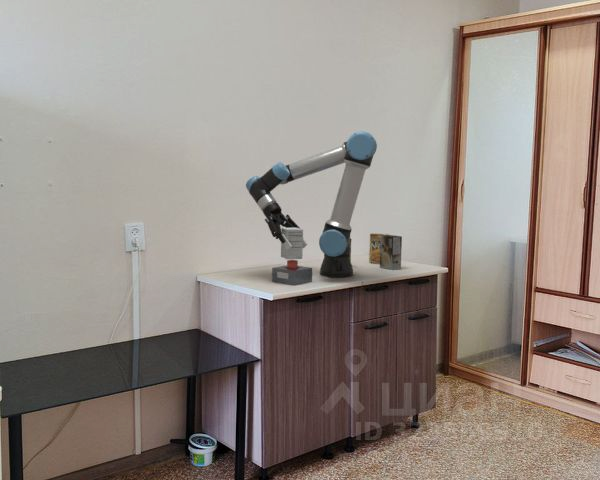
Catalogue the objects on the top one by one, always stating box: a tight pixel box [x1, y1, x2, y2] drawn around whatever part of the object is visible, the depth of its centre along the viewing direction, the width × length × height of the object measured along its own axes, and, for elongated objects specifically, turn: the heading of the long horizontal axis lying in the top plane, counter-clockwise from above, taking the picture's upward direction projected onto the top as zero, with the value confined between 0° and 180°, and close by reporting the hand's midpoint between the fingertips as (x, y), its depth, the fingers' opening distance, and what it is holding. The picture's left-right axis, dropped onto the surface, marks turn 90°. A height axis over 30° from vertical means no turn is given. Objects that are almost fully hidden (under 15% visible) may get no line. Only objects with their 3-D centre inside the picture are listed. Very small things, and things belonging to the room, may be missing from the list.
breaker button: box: [286, 259, 299, 269], centre depth 258 cm, size 4×4×5 cm
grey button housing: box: [271, 264, 313, 286], centre depth 258 cm, size 12×12×6 cm
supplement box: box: [280, 227, 304, 260], centre depth 257 cm, size 7×7×13 cm
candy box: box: [368, 232, 390, 264], centre depth 315 cm, size 9×4×15 cm, turn 62°
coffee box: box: [379, 234, 403, 271], centre depth 299 cm, size 9×6×16 cm
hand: (297, 247), depth 255 cm, fingers closed on supplement box, 10 cm apart
